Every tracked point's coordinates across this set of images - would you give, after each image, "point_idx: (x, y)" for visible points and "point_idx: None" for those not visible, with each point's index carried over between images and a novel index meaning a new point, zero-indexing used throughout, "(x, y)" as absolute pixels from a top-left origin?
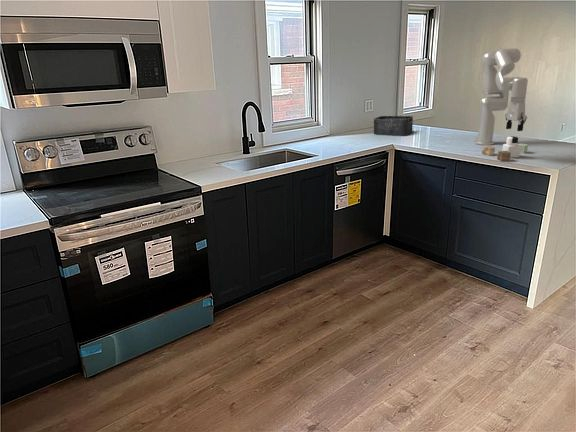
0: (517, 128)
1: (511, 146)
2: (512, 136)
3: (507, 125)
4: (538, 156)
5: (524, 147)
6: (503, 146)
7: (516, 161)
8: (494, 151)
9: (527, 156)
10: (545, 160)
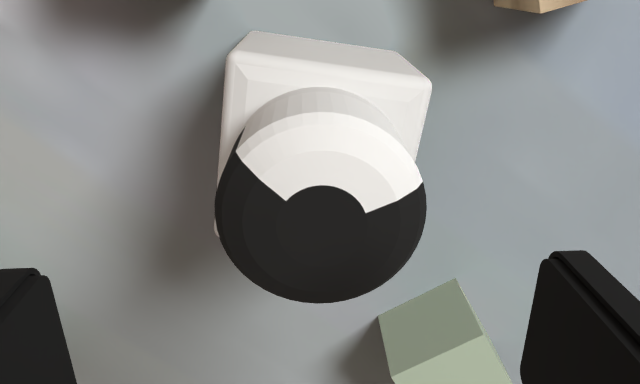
0: (6, 319)
1: (224, 96)
2: (362, 247)
3: (603, 329)
4: (212, 349)
5: (389, 361)
6: (400, 70)
7: (50, 14)
8: (510, 7)
9: None
10: None
